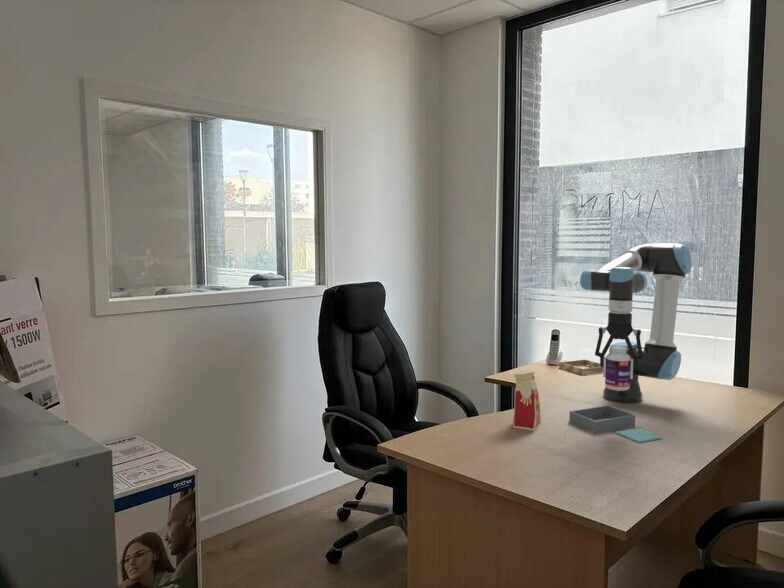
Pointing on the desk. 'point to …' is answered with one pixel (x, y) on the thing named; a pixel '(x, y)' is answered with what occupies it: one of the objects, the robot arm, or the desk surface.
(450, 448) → the desk surface
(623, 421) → the rectangular frame
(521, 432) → the desk surface
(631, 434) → the pad
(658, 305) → the robot arm
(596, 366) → the wooden square tray
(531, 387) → the milk carton
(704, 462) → the desk surface
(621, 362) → the pill bottle
